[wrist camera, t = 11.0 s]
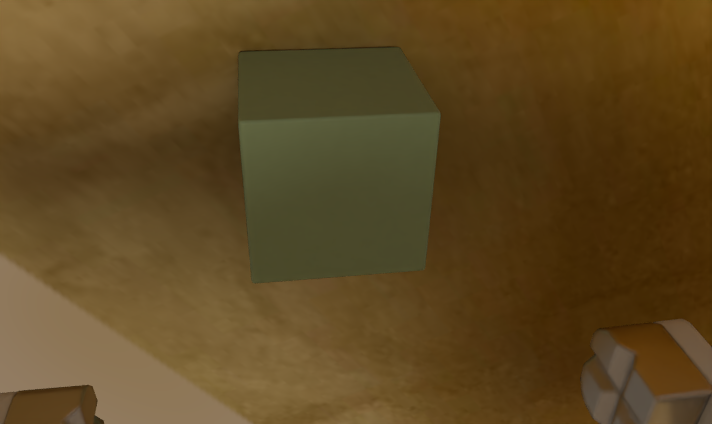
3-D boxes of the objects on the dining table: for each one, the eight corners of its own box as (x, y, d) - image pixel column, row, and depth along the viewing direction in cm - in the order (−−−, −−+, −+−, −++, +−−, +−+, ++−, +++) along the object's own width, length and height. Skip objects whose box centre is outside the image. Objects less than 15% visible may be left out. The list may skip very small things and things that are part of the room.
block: (400, 46, 18) (442, 112, 14) (392, 184, 20) (425, 271, 16) (238, 50, 17) (237, 121, 13) (249, 192, 19) (251, 285, 16)
